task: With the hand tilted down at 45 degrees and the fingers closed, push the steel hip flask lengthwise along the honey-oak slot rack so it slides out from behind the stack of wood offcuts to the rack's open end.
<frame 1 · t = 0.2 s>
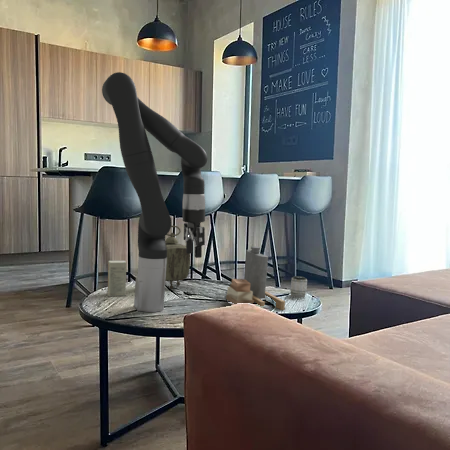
hand: (193, 255, 152), 18 cm above the table, tool pointing down, fingers open, 8 cm apart
slot rack: (255, 300, 170), on the table
hip flask: (252, 298, 173), resting in slot rack
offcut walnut: (239, 305, 162), on the table, touching offcut ash
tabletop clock: (169, 288, 179), on the table
camera lens: (297, 296, 182), on the table
skincare box: (115, 295, 163), on the table
offcut cherry: (240, 289, 161), point 6 cm above the table, touching offcut ash
offcut ash: (239, 297, 162), point 3 cm above the table, touching offcut cherry, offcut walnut
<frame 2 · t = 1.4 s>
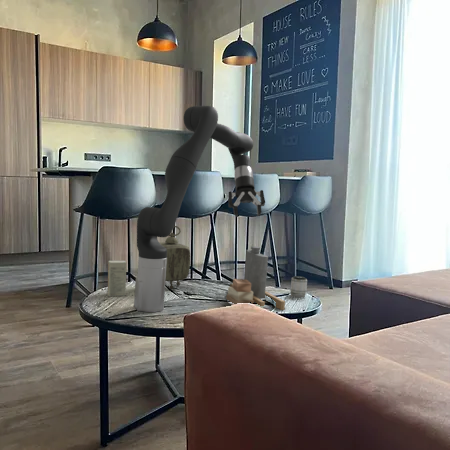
hand: (248, 215, 174), 31 cm above the table, tool tilted 30°, fingers open, 8 cm apart
nothing on the table moved.
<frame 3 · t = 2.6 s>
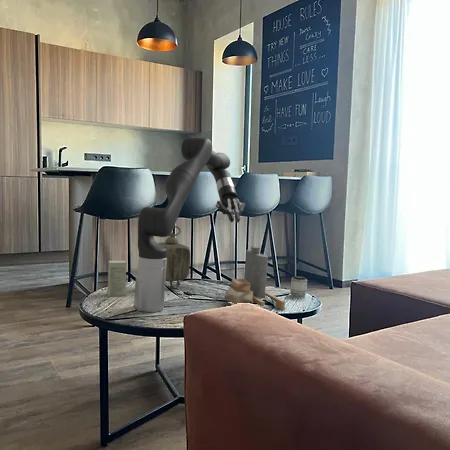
hand: (235, 221, 185), 28 cm above the table, tool tilted 45°, fingers closed
offcut cherry: (240, 289, 162), point 5 cm above the table
offcut ash: (239, 297, 162), point 2 cm above the table, touching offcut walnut
everything else where it was.
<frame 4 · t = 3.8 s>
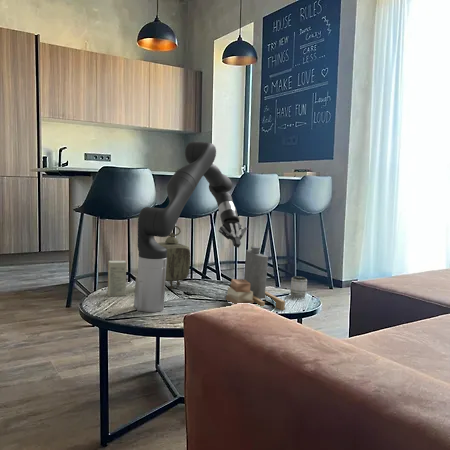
hand: (237, 246, 184), 18 cm above the table, tool tilted 45°, fingers closed
offcut cherry: (240, 289, 161), point 5 cm above the table, touching offcut ash
offcut ash: (239, 297, 161), point 2 cm above the table, touching offcut cherry, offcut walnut
everything else where it was.
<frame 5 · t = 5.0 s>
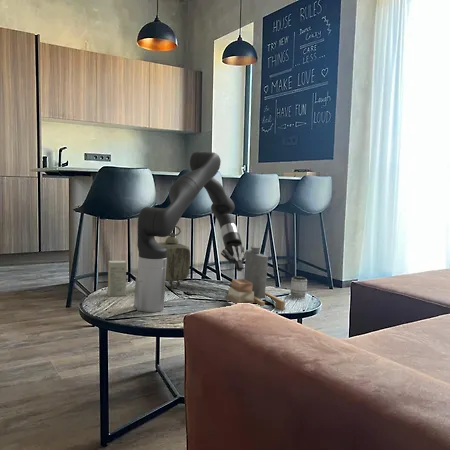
hand: (240, 269, 184), 8 cm above the table, tool tilted 45°, fingers closed
offcut cherry: (241, 289, 161), point 5 cm above the table
offcut ash: (240, 297, 162), point 2 cm above the table, touching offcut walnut
everything else where it was.
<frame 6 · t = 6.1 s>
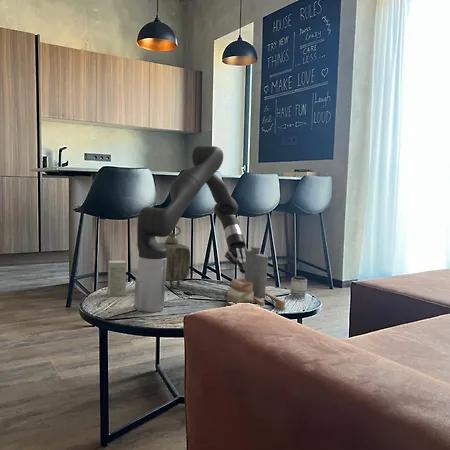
hand: (244, 272, 180), 8 cm above the table, tool tilted 45°, fingers closed
hip flask: (252, 298, 173), resting in slot rack, touching gripper
offcut cherry: (241, 289, 161), point 6 cm above the table, touching offcut ash
offcut ash: (240, 297, 162), point 2 cm above the table, touching offcut cherry, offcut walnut
everything else where it was.
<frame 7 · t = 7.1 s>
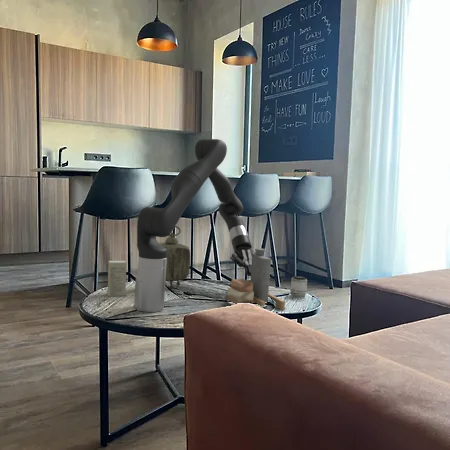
hand: (250, 275, 175), 8 cm above the table, tool tilted 45°, fingers closed
hip flask: (256, 302, 168), resting in slot rack, touching gripper
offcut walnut: (239, 305, 162), on the table
offcut ash: (240, 297, 162), point 2 cm above the table, touching offcut cherry
everything else where it was.
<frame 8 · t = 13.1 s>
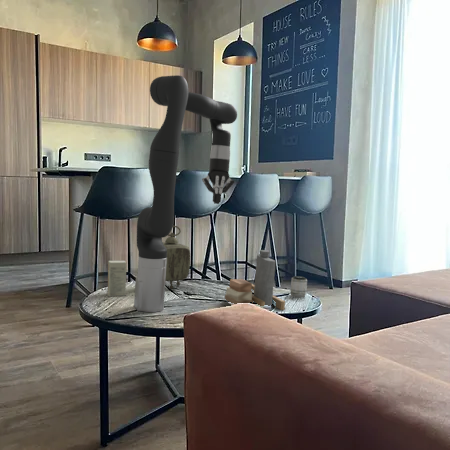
hand: (216, 203, 173), 35 cm above the table, tool pointing down, fingers closed
hip flask: (260, 305, 164), resting in slot rack
everything else where it was.
at the end: hip flask inside the target area (1.5 cm from its centre), resting in slot rack; hip flask tilted 0°; hip flask moved 9.1 cm from its start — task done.
